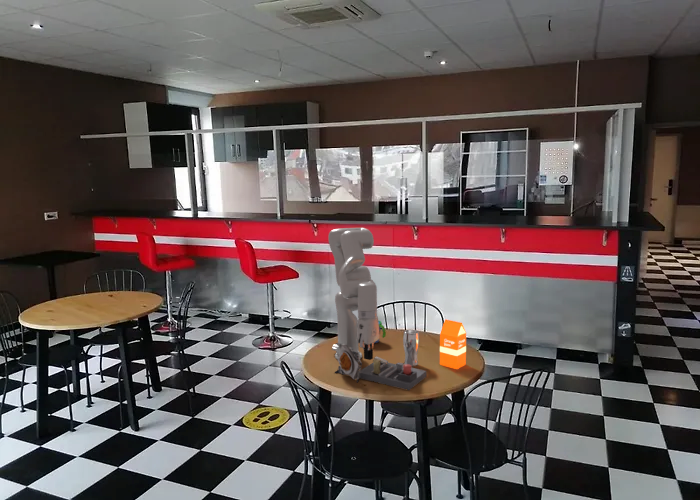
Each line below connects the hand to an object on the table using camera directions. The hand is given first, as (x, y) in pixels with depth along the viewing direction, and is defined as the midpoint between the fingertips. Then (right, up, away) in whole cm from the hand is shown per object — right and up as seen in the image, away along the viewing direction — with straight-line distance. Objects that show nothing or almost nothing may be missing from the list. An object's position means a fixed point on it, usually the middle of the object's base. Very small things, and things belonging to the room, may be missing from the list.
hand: (368, 358), depth 208 cm
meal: (-8, -10, +11) cm, 17 cm away
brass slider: (+4, -8, +8) cm, 12 cm away
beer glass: (+20, -8, +25) cm, 33 cm away
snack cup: (+4, -3, +56) cm, 56 cm away
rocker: (+6, -5, +19) cm, 21 cm away
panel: (+10, -10, +11) cm, 18 cm away
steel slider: (+14, -7, +10) cm, 18 cm away
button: (+16, -7, +2) cm, 17 cm away
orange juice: (+38, -8, +24) cm, 46 cm away
